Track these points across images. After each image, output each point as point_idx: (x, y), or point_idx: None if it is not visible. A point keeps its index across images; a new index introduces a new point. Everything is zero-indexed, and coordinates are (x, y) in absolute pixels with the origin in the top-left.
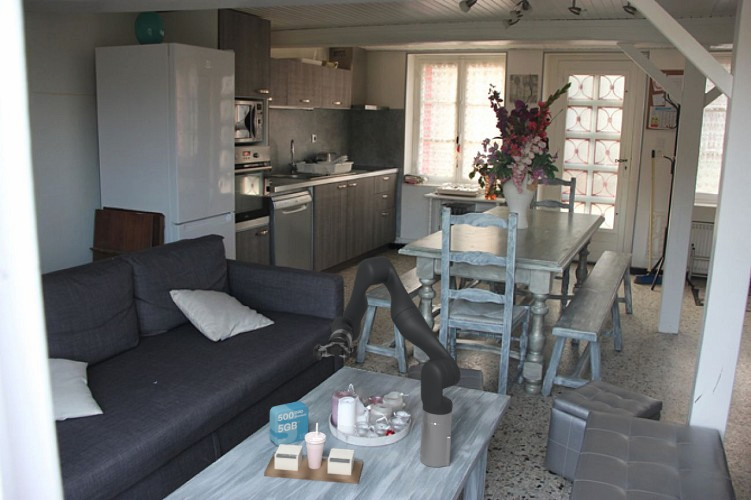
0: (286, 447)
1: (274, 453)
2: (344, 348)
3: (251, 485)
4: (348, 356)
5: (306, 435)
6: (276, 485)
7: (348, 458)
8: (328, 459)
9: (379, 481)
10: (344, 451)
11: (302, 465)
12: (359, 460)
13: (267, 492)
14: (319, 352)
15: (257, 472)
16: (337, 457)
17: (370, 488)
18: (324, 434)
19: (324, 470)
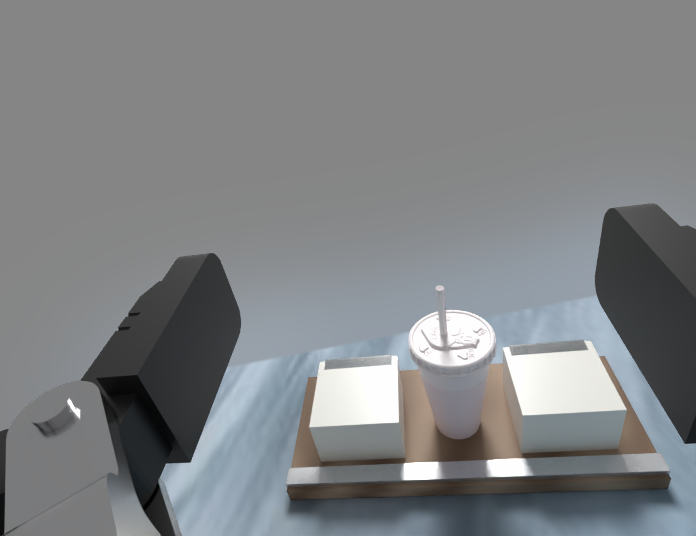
0: (581, 391)
1: (657, 460)
2: (109, 475)
3: (605, 323)
4: (160, 282)
5: (489, 335)
6: (535, 336)
7: (329, 372)
8: (395, 357)
9: (249, 409)
10: (346, 410)
11: (501, 415)
12: (299, 473)
13: (541, 309)
14: (689, 242)
15: (640, 378)
16: (367, 370)
17: (279, 374)
18: (418, 354)
19: (416, 402)
